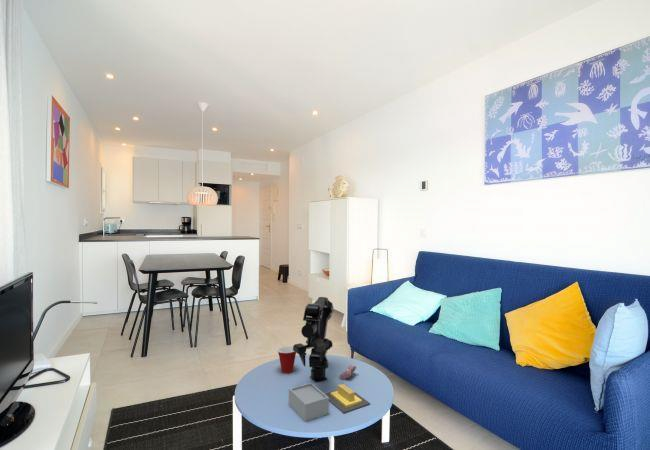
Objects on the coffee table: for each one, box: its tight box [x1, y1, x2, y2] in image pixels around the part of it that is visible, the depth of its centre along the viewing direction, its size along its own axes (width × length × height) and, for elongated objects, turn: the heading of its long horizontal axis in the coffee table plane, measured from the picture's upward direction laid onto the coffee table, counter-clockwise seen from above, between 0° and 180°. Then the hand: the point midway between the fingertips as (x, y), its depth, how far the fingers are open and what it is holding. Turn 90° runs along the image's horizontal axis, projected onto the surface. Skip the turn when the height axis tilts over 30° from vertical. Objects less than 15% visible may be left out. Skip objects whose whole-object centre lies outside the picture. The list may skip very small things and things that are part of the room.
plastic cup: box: [276, 345, 297, 374], centre depth 179 cm, size 11×11×12 cm
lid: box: [330, 383, 362, 408], centre depth 150 cm, size 8×12×4 cm
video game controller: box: [338, 364, 357, 380], centre depth 173 cm, size 10×5×7 cm, turn 149°
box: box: [288, 382, 330, 423], centre depth 142 cm, size 11×15×7 cm
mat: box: [324, 389, 371, 414], centre depth 150 cm, size 14×17×1 cm
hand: (312, 363), depth 160 cm, fingers open, 9 cm apart
